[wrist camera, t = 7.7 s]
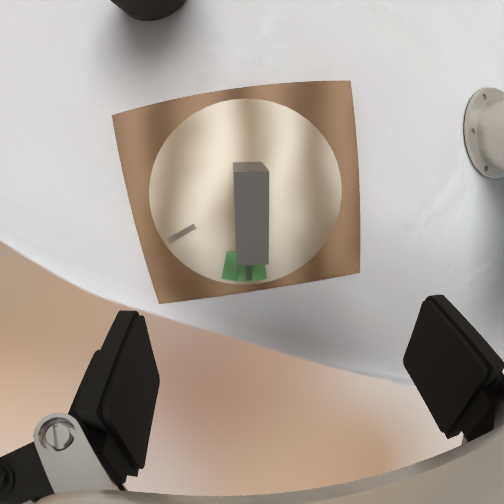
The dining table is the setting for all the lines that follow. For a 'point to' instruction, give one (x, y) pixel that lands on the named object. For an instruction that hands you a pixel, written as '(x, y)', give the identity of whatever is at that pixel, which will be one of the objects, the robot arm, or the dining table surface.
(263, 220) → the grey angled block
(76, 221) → the dining table surface
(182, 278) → the brown wooden flat block
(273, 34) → the dining table surface
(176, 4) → the travel mug
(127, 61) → the dining table surface
